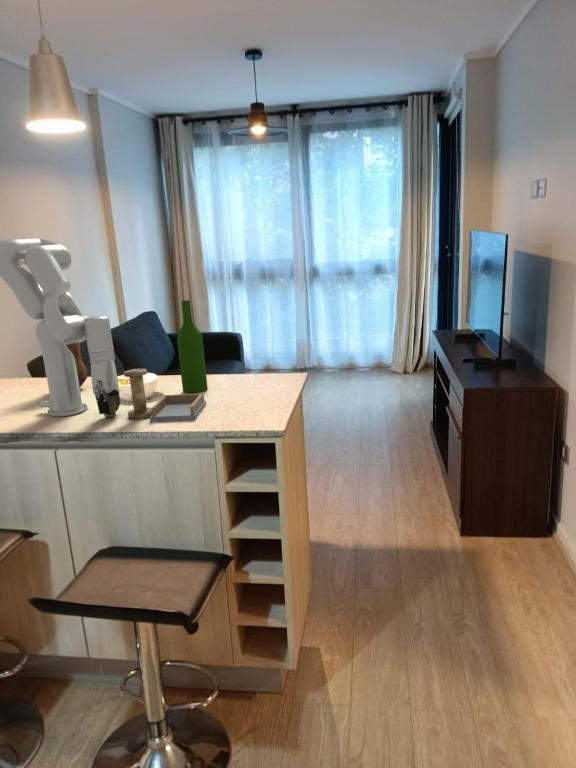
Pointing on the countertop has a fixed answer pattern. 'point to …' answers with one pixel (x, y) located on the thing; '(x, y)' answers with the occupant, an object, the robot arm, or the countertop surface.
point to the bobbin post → (138, 394)
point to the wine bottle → (191, 354)
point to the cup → (112, 403)
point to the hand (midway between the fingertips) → (110, 409)
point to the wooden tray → (178, 407)
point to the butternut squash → (78, 362)
